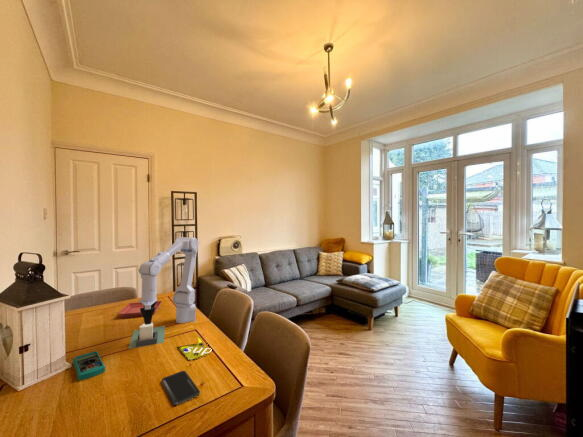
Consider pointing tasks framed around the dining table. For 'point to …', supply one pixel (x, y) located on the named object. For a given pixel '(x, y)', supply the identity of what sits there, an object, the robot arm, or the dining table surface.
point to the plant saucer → (135, 309)
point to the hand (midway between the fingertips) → (148, 320)
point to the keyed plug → (146, 331)
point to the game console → (194, 350)
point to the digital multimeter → (88, 365)
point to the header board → (157, 338)
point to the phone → (180, 387)
